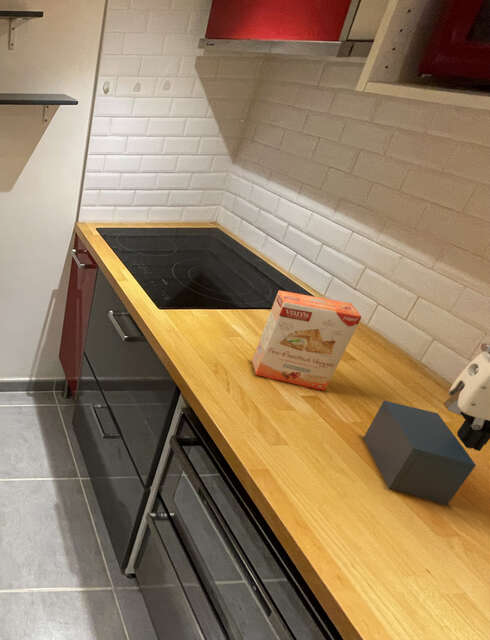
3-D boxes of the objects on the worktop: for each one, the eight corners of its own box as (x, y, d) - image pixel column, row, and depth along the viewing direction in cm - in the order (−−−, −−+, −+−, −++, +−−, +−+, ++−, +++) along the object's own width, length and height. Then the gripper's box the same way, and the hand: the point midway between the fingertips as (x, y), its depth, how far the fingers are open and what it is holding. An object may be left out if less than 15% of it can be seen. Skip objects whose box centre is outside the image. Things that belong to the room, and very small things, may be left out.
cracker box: (255, 376, 105) (284, 301, 96) (250, 361, 110) (277, 288, 102) (326, 393, 100) (363, 315, 92) (318, 376, 106) (352, 301, 97)
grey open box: (414, 451, 86) (438, 413, 82) (447, 505, 76) (476, 465, 72) (363, 437, 89) (383, 400, 85) (388, 488, 79) (413, 448, 75)
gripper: (477, 360, 69) (423, 445, 76) (615, 388, 63) (542, 476, 71) (450, 333, 75) (403, 414, 83) (574, 357, 70) (511, 441, 77)
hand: (467, 442), depth 77 cm, fingers closed
